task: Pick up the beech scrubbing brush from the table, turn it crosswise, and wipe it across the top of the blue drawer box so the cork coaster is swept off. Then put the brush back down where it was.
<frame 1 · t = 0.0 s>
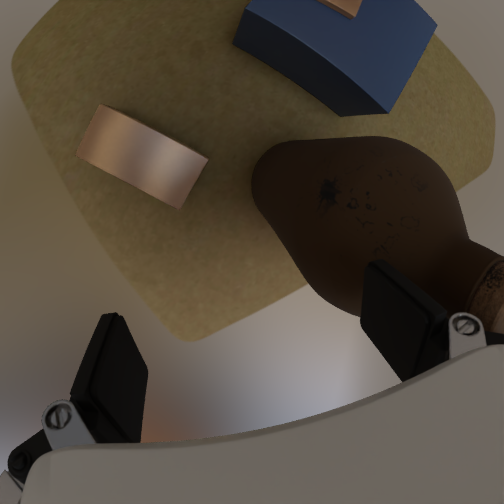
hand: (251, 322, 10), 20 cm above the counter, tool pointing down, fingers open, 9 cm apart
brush: (148, 152, 25), on the counter
blue drawer box: (321, 36, 23), on the counter
olive oil: (294, 184, 29), on the counter, touching gripper
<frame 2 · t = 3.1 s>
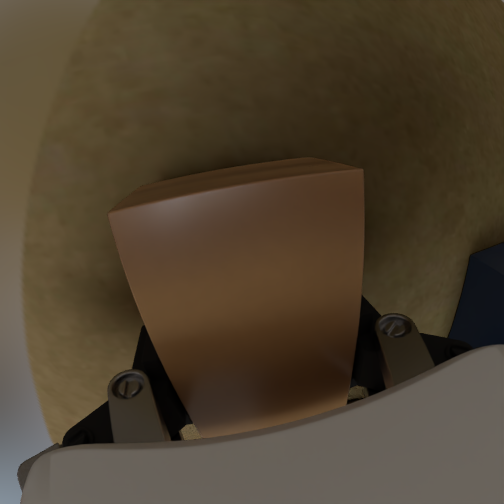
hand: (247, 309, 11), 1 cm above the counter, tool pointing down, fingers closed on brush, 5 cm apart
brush: (244, 297, 12), on the counter, touching gripper
blue drawer box: (495, 311, 17), on the counter
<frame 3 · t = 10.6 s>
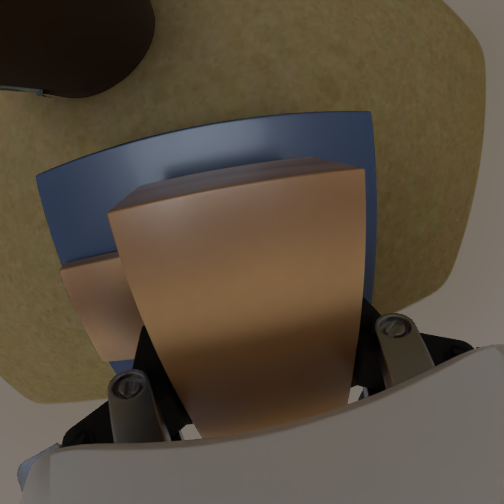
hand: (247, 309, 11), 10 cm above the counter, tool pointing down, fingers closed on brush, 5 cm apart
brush: (244, 298, 12), point 9 cm above the counter, touching gripper
blue drawer box: (218, 230, 20), on the counter
coaster: (132, 303, 11), point 9 cm above the counter
olive oil: (93, 41, 13), on the counter
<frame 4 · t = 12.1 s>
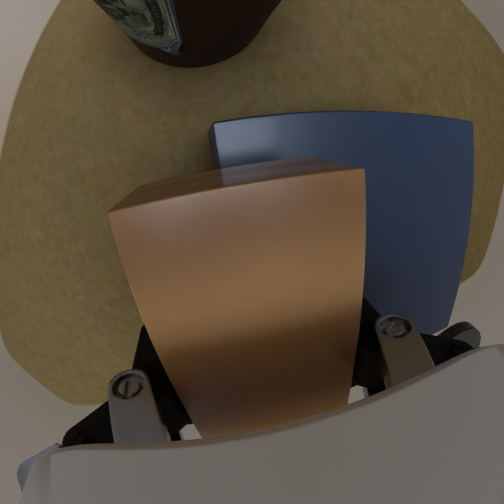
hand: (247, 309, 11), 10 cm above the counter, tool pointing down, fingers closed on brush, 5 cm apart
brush: (244, 298, 12), point 9 cm above the counter, touching gripper
blue drawer box: (317, 212, 21), on the counter
olive oil: (194, 13, 14), on the counter
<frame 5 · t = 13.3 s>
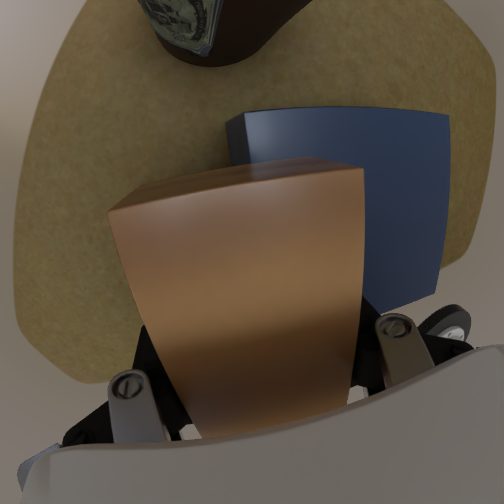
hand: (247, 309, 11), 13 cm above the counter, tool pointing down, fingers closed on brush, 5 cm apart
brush: (244, 297, 12), point 13 cm above the counter, touching gripper
blue drawer box: (317, 193, 24), on the counter
olive oil: (212, 19, 16), on the counter
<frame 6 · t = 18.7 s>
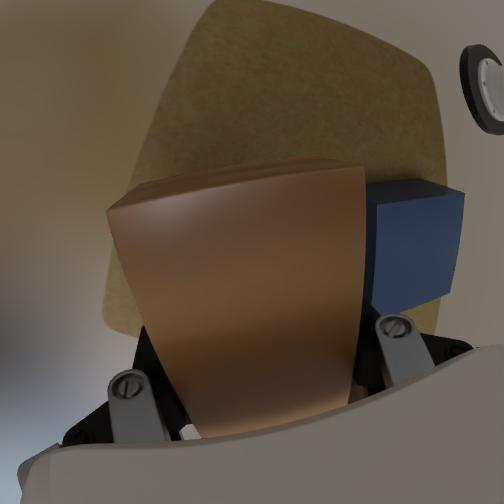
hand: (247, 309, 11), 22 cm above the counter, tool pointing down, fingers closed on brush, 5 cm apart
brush: (244, 297, 12), point 21 cm above the counter, touching gripper
blue drawer box: (382, 231, 36), on the counter
when the fingers open (1 cm above the counter, at t = 23.5 s): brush stays where it is, on the counter.
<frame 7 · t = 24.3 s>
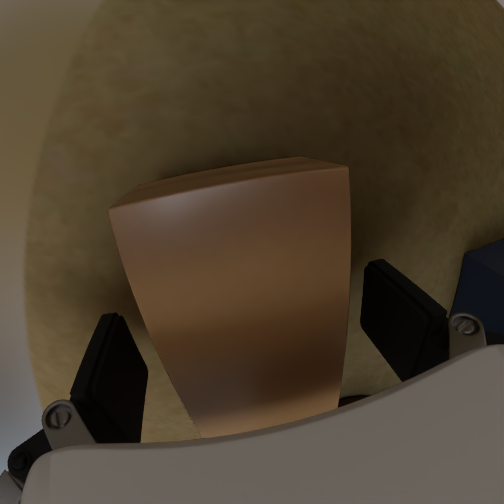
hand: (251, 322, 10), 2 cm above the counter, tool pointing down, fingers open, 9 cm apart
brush: (239, 294, 12), on the counter
blue drawer box: (491, 309, 17), on the counter
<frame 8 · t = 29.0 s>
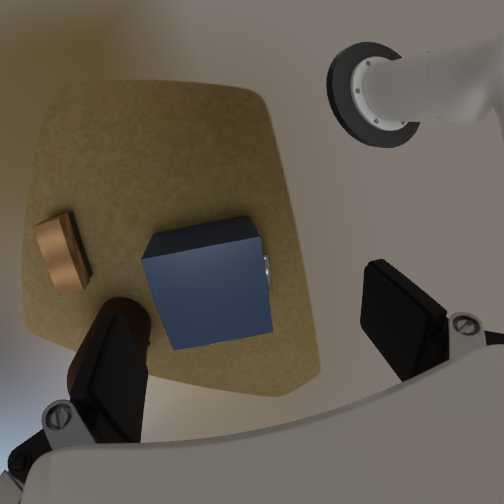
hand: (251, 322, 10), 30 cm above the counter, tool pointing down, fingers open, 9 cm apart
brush: (70, 246, 37), on the counter
blue drawer box: (209, 268, 42), on the counter
olive oil: (125, 320, 43), on the counter
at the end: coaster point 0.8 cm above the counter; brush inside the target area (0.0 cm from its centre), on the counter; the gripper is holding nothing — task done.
